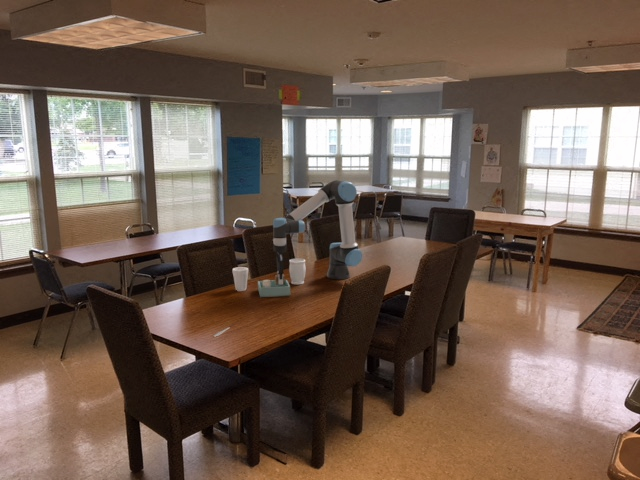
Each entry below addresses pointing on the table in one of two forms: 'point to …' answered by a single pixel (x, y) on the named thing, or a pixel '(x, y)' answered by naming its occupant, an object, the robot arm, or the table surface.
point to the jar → (297, 271)
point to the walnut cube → (277, 280)
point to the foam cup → (240, 278)
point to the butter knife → (221, 332)
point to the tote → (274, 289)
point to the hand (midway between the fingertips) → (280, 282)
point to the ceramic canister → (266, 283)
